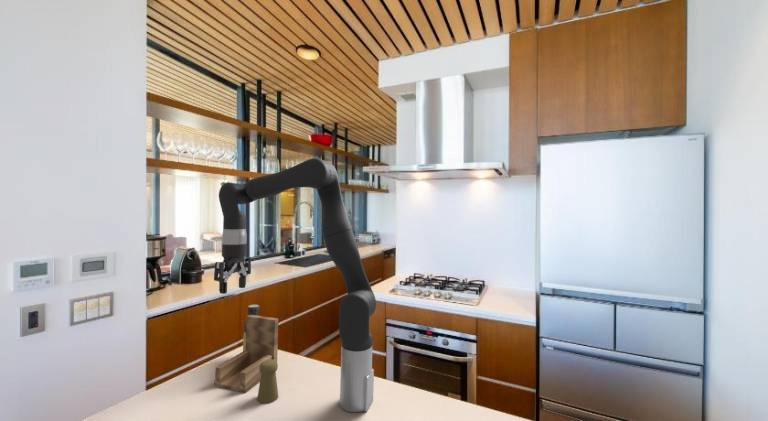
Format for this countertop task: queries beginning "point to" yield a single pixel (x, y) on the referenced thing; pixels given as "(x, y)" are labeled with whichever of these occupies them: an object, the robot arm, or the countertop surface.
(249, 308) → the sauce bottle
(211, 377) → the countertop surface
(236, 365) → the wooden stand
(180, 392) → the countertop surface
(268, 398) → the olive rounded bulb piece
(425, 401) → the countertop surface
